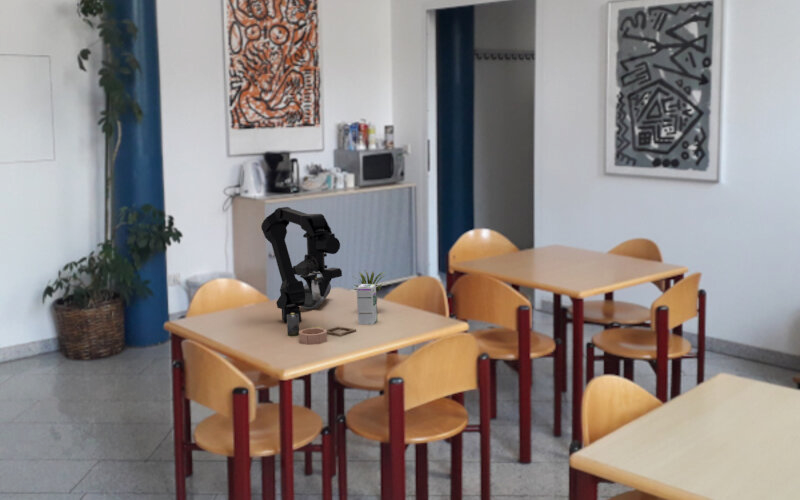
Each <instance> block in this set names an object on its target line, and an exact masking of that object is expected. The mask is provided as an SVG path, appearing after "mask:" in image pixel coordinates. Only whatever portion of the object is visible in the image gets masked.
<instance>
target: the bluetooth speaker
mask: <svg viewBox="0 0 800 500" xmlns="http://www.w3.org/2000/svg"><path fill="white" fill-rule="evenodd" d="M318 277H319V278H320V277H321V276H318ZM303 286H304V289H305V293H306V297H305V302H304V306H300V308H303V309H304V310H313V309H317V308H319V307H320V306H321V305H322V303H323V302H325V300H326V298H327V297H328V296H329V294H330V292H331V290H332V286H331V282H330V283H329V285H328V287H327V290H326V292H325V295H324V299H323V300H312V295H311V292H310V290H309V287H308V285H307V283H306V284H305V285H303Z"/></svg>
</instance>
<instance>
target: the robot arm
mask: <svg viewBox="0 0 800 500" xmlns="http://www.w3.org/2000/svg"><path fill="white" fill-rule="evenodd" d="M290 223H292V224H295V225H299V227H300V229H301V230H302V231H305V233H303V236H302V237H303V238H305V239H306V251H307V254H305V255H304V259H303V260H302V261H300V262H299V263H297V264H296V265H292V261H291V257H290V254H289V251H288V247H287V243H286V237H287V233H288V230H287V227H288V226H289V224H290ZM261 230H262V233H263V235H264V238H265V239H266V240H267V241H268V242H269V243H270V244H271V247H272V250H273V251H272V252H273V254H274V257H275V260H276V265H277V268H278V272H279V277H280V278H281V285H280V287H279V288H280V289H279V292H280V296H279V297H278V299H277V300H276V302H275V303H276V308H277V309H280V310H281V321H282V322H283V323H284V324H285V323H286V324H287V314H291V313H296V314H299V323H300V322H301V323H302V311H301V306H304V302H305V297H306V293H305V289H304V286H305V285H304V282H303V281H302V280H298V279H297V277H296V276H295V275H297V276H299V277H300V278H302V279H303V280H304V281H305V283H306V284H307V285H308V287H309V290H310V292H311V295H312V289H311V279H313V278H315V277H318V275H320V276H319V277H320V278H317V280H318V281H319V283H320V294H321V297H323V296H324V295H325V292H326V290H327V287H328V285H329V283H330V284H331V281H332V279H337V278H340V277H343V273H342V272H343V271H342V269H341V268H339V267H328V264H325V263H326V262H325V258H326V257H327V256H328V254H330V255H335V254H337V253H338V252H339V250H340V248H341V243H340V241H339V239H338V238H337V237H336V234H335V233H333V232H332V229H331V227H330V226H329V223H328V221H327V219H326V217H325V216H324V214H322V213H306V212H303V211H299V210H297V209H293V208H291V207H288V206H283V207H277V208H276V209H275V210H274V211H273V212H272V213H270V214H269V215H268V216H266V217H265V219H264V220H263V222H262V223H261Z"/></svg>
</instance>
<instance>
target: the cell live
mask: <svg viewBox="0 0 800 500" xmlns="http://www.w3.org/2000/svg"><path fill="white" fill-rule="evenodd" d="M319 277H320V276H317V277H315V278H313V279H311V289H312V300H323V299H324V296H323V297H321V294H320V283H319V281H318V280H317V278H319Z"/></svg>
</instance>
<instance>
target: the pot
mask: <svg viewBox="0 0 800 500" xmlns="http://www.w3.org/2000/svg"><path fill="white" fill-rule="evenodd" d="M326 330H327V328H323V329H322V328H310V327H307V328H304V329H299V336H298V338H299V340H298V343H300V344H305V345H318V344H322V343H326V342H328V334H327V331H326Z"/></svg>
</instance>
